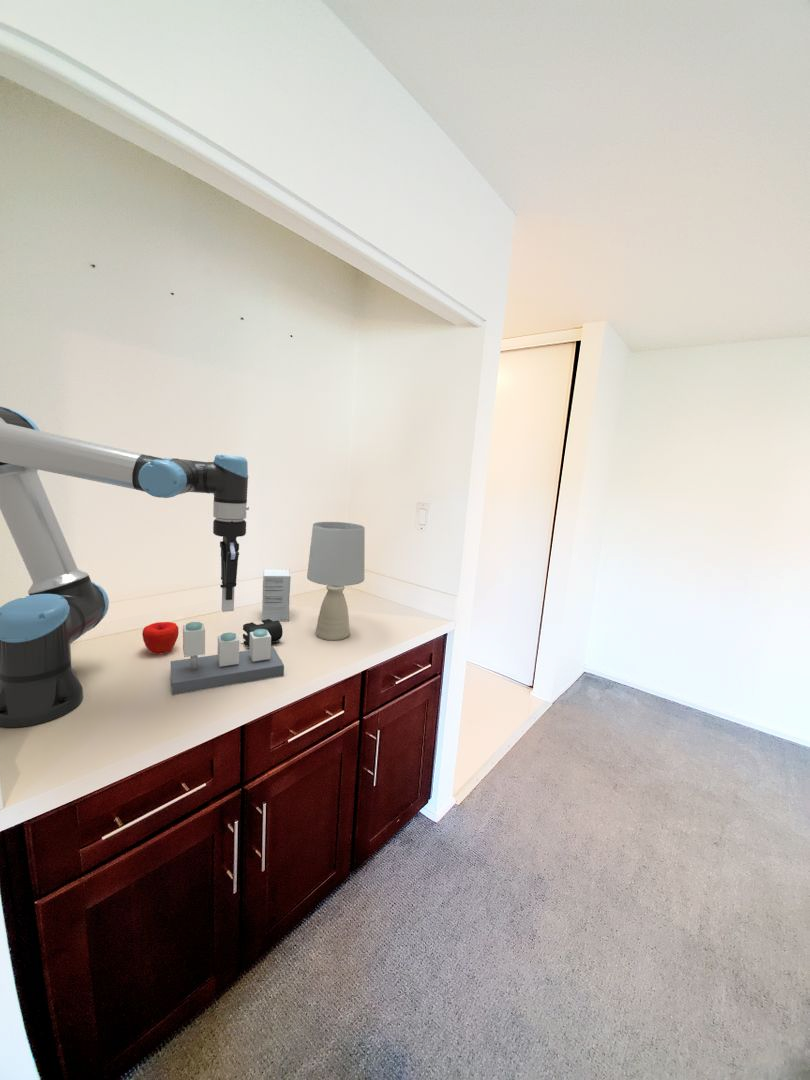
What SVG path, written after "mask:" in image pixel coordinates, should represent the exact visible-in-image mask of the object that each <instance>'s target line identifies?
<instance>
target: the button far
mask: <svg viewBox="0 0 810 1080" xmlns="http://www.w3.org/2000/svg"><path fill="white" fill-rule="evenodd" d="M271 647H272V642H271V635H270V634H269V632H268V630H266V629H257V630H254V631H253V632H250V647H248V649H249V655H250V657H251V659H252V661H253V662H254V661H260V660H267V659H270V658H271Z"/></svg>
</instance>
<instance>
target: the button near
mask: <svg viewBox="0 0 810 1080" xmlns="http://www.w3.org/2000/svg"><path fill="white" fill-rule="evenodd" d="M182 650H183V651H182V652H183V657H184V658H188V657H189V658H190V656H197V655H198V656H203V655H204V656H205V654H206V628H205V624H204V622H203V623H202V622H200V621H191V622H188V623H186V624H184V625H182Z"/></svg>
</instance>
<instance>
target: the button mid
mask: <svg viewBox="0 0 810 1080" xmlns="http://www.w3.org/2000/svg"><path fill="white" fill-rule="evenodd" d="M239 652H240V639H239V637H238V634H237V633H235V632H224V633H222V634H221V635H217V655H218V656H217V659H218V662H219V666H220V667H221V666H227V665H234V664H239Z"/></svg>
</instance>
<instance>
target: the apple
mask: <svg viewBox="0 0 810 1080" xmlns="http://www.w3.org/2000/svg"><path fill="white" fill-rule="evenodd" d="M141 634H142V640H143V643H144V645H145V647H146V648H147V650H148V651H149V652H150V653H152V654H154V655H163V654H166V653H169V652H171V651H172V650H173V649H174V646H175V645H176V643H177V640H178V637H179V626H178V625H177V623H175V622H171V621H170V622H169V621H159V622H154V623H151V624H148V625H146V626H145V627H143V629H142V632H141Z"/></svg>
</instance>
